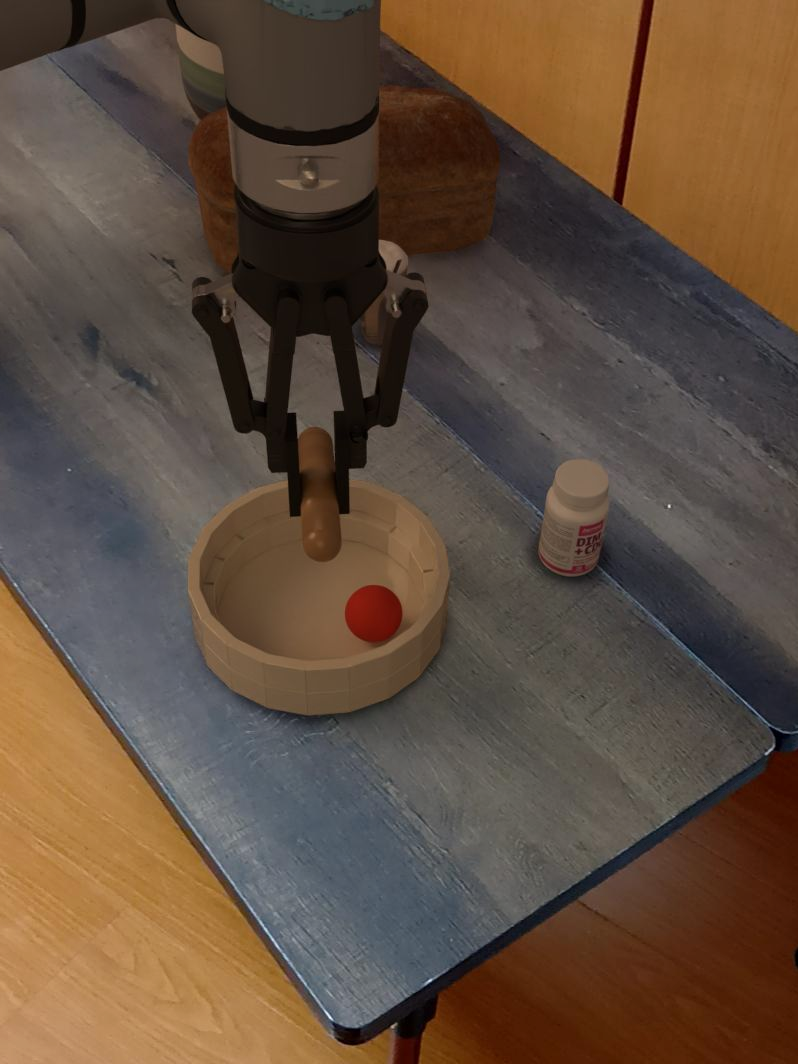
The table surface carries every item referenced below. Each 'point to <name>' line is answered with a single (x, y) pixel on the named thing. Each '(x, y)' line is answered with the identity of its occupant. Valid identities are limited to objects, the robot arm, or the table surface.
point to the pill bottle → (575, 518)
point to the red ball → (373, 613)
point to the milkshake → (377, 312)
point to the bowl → (315, 600)
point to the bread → (383, 174)
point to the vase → (201, 73)
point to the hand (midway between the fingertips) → (318, 500)
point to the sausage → (318, 495)
